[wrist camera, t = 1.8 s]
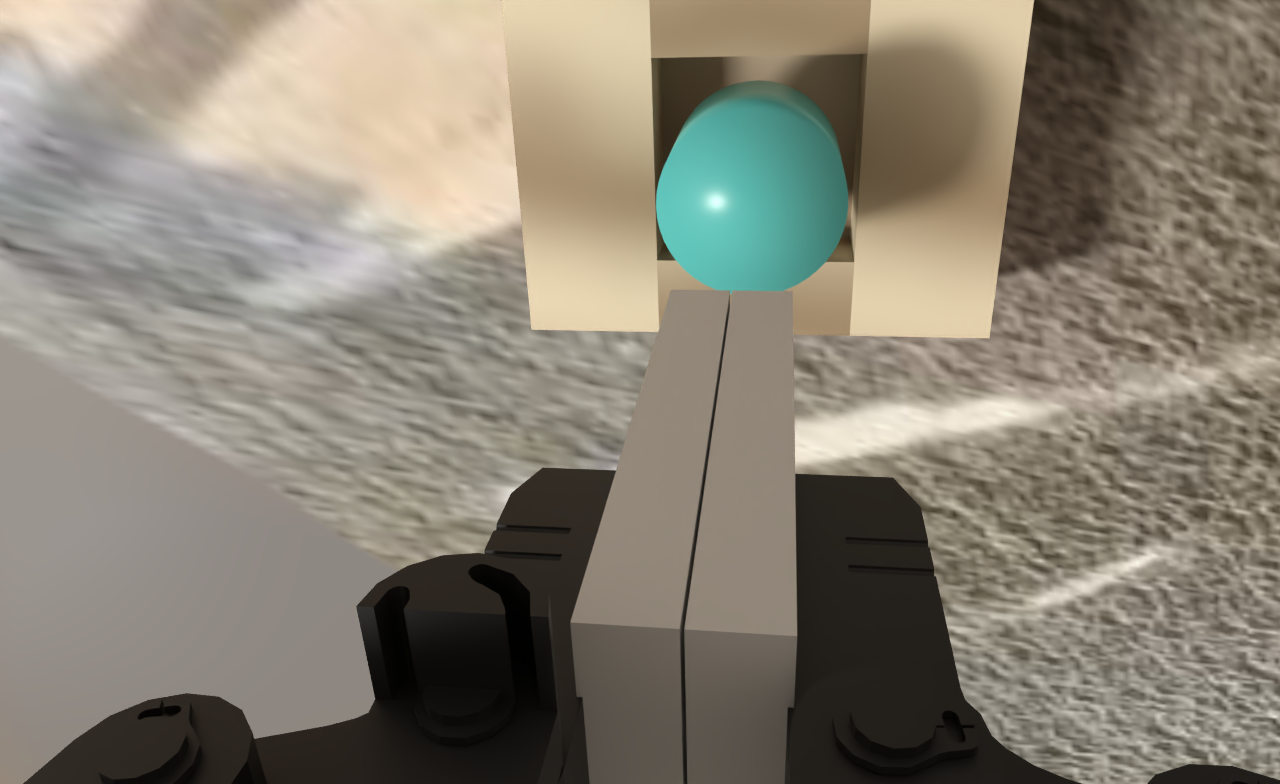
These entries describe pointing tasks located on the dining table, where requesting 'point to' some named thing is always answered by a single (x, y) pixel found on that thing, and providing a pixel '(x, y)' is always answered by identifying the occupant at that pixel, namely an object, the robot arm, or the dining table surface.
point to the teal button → (753, 189)
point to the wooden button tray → (832, 78)
